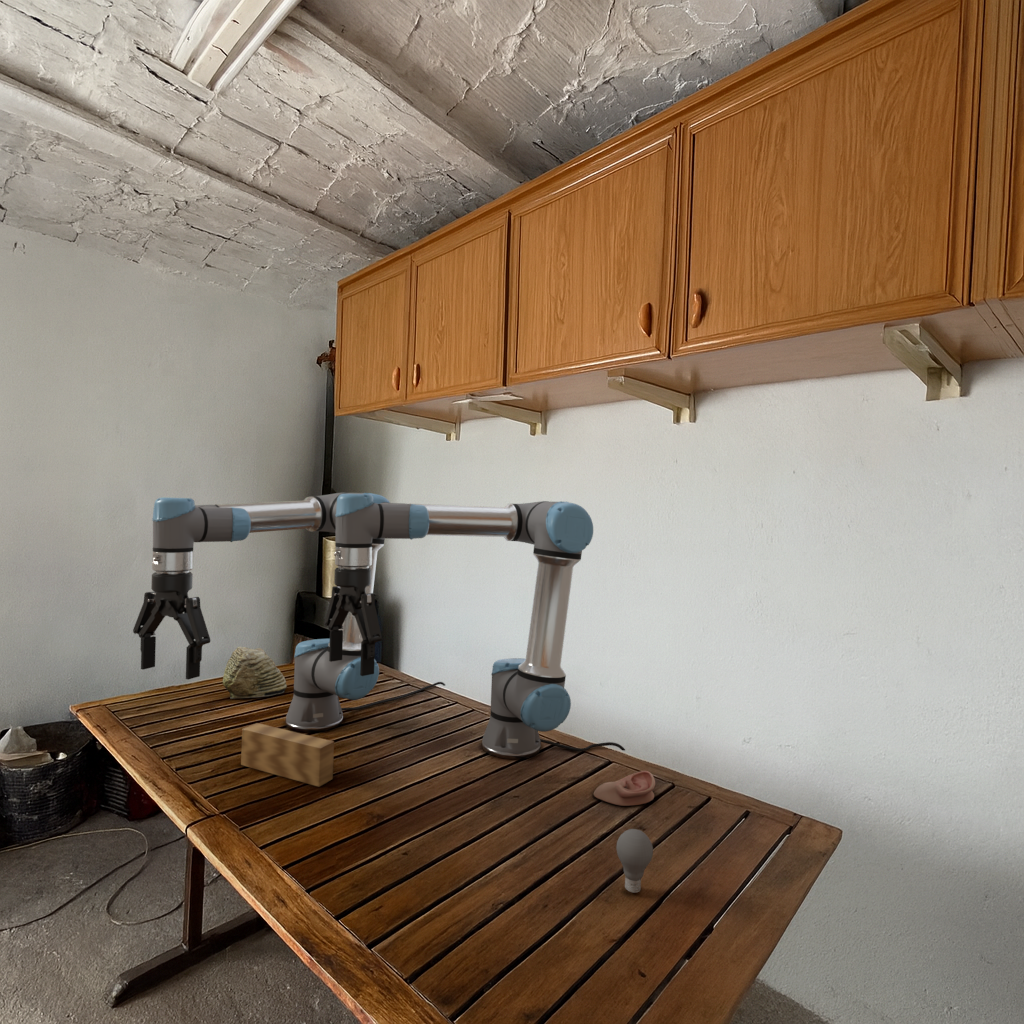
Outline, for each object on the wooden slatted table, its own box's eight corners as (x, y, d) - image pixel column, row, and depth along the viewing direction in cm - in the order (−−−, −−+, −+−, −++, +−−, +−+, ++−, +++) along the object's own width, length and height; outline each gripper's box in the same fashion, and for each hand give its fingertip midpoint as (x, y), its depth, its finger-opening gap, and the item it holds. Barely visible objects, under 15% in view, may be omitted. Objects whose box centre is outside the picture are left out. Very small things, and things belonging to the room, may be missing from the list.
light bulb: (610, 879, 108) (613, 822, 108) (644, 879, 109) (647, 822, 109) (619, 902, 102) (622, 840, 102) (655, 901, 103) (658, 840, 103)
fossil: (218, 695, 195) (220, 647, 195) (278, 685, 208) (279, 640, 207) (228, 703, 189) (230, 653, 188) (289, 692, 201) (290, 645, 201)
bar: (240, 765, 147) (242, 728, 147) (255, 758, 152) (257, 722, 151) (319, 787, 138) (320, 748, 138) (332, 779, 142) (334, 741, 142)
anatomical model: (593, 783, 136) (596, 762, 147) (592, 802, 136) (596, 779, 148) (656, 792, 134) (655, 770, 145) (655, 810, 134) (654, 787, 145)
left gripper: (115, 568, 134) (113, 668, 134) (199, 578, 123) (196, 686, 124) (148, 565, 140) (146, 660, 141) (230, 575, 130) (227, 677, 131)
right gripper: (310, 562, 140) (308, 657, 140) (367, 574, 121) (364, 684, 122) (341, 560, 145) (339, 652, 145) (400, 572, 126) (398, 677, 127)
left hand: (169, 672), depth 132 cm, fingers open, 13 cm apart
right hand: (350, 667), depth 134 cm, fingers open, 13 cm apart
